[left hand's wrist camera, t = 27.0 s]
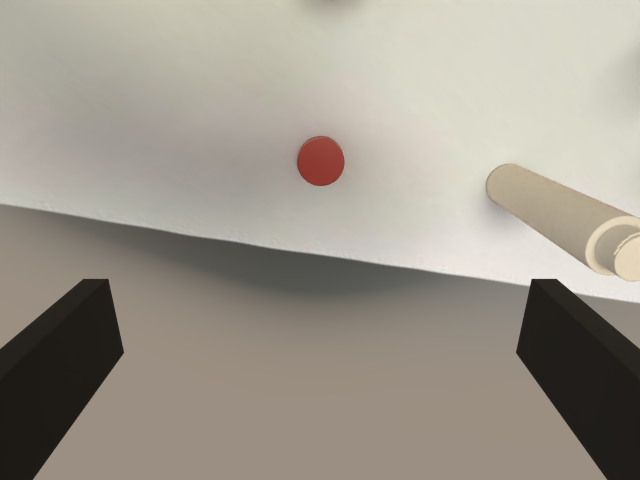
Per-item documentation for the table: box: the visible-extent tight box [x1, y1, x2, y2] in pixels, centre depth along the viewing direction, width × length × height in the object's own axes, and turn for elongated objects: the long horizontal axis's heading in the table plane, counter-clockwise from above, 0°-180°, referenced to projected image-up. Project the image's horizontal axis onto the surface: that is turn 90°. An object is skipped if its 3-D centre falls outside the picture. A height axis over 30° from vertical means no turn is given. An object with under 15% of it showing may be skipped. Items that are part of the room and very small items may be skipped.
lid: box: [298, 136, 344, 186], centre depth 39 cm, size 4×4×2 cm
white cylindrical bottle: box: [486, 164, 640, 281], centre depth 32 cm, size 4×4×18 cm
